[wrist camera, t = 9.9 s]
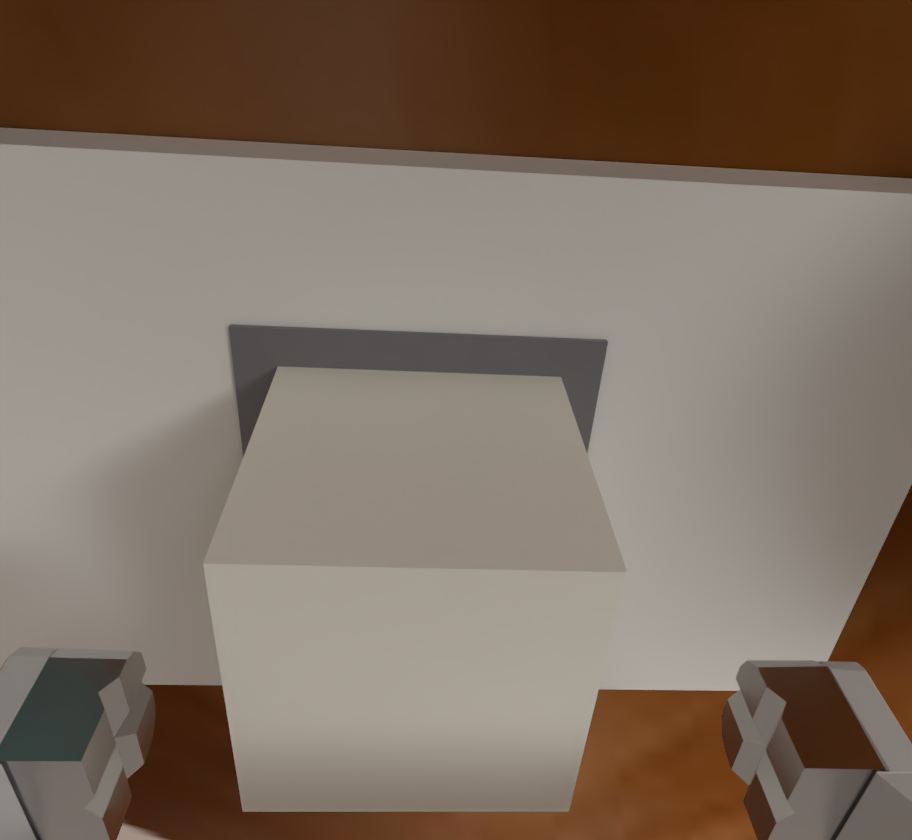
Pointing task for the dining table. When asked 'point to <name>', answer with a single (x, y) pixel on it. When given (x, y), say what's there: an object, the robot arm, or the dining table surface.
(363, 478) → the off-white block
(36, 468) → the white flat board
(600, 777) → the dining table surface
